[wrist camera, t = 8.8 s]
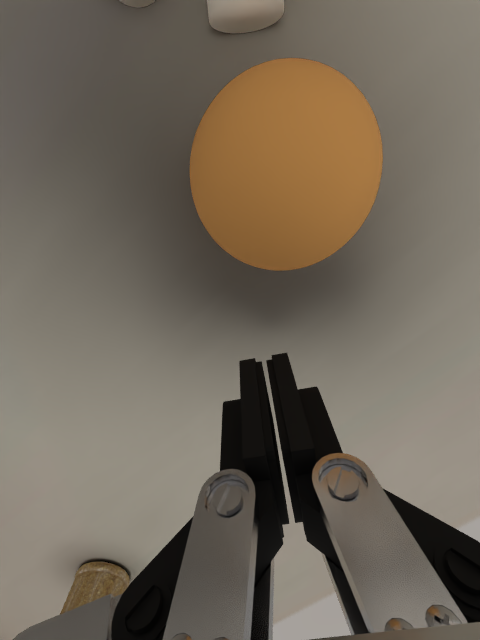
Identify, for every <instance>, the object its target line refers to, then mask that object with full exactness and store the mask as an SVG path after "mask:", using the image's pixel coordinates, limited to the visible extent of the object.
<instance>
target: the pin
mask: <svg viewBox="0 0 480 640" xmlns="http://www.w3.org/2000/svg"><path fill="white" fill-rule="evenodd" d="M119 1H120V2H122V3H123V4H125V5H127V6H130V7H135V8H141V7H145V6H148V5H150V4H152V3H153V2H154V1H156V0H119Z"/></svg>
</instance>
